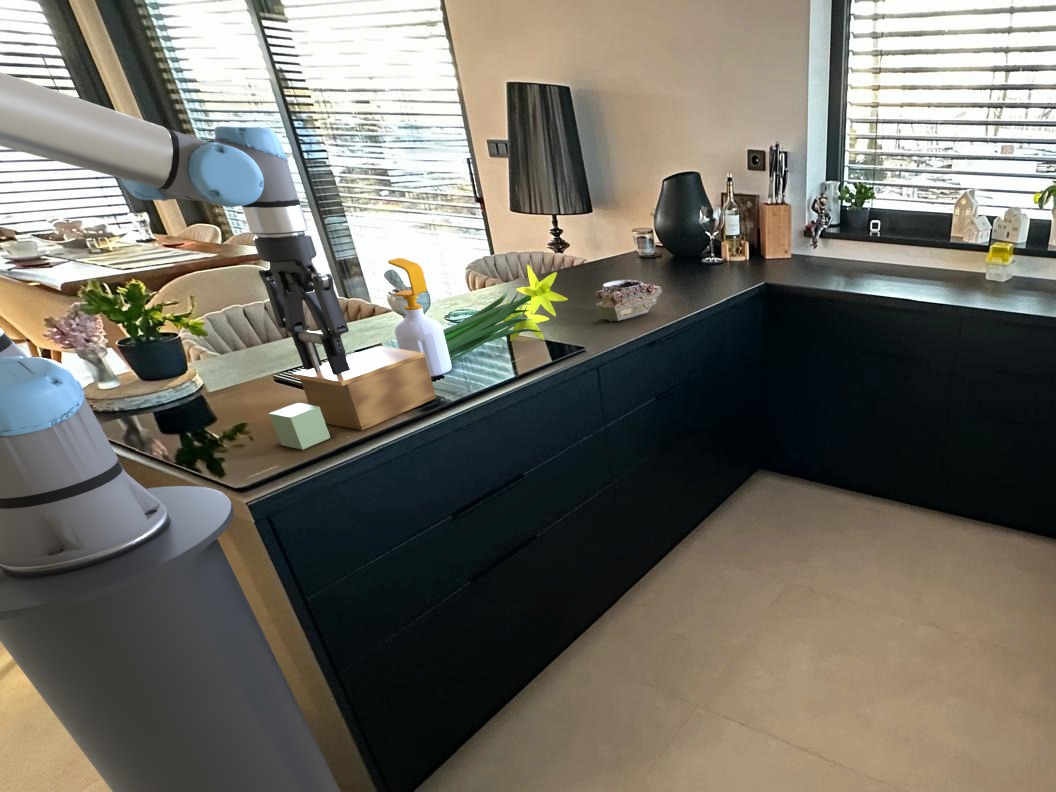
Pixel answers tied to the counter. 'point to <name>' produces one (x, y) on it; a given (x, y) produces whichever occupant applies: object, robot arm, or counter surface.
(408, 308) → the soap bottle
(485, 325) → the daffodil flowers
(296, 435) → the block
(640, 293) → the decorative box
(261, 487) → the counter surface
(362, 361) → the lid
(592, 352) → the counter surface
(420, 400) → the chest
